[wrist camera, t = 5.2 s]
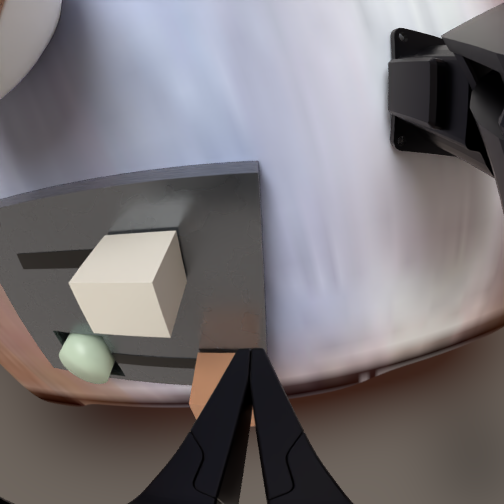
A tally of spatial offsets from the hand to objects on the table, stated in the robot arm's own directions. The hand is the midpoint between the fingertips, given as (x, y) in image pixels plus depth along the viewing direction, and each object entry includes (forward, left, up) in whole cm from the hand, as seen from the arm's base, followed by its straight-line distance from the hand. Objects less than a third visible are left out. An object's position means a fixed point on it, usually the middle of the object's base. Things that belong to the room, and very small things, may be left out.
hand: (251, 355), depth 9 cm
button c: (+14, +9, -8) cm, 18 cm away
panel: (+10, +4, -8) cm, 13 cm away
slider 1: (+6, 0, -6) cm, 8 cm away
